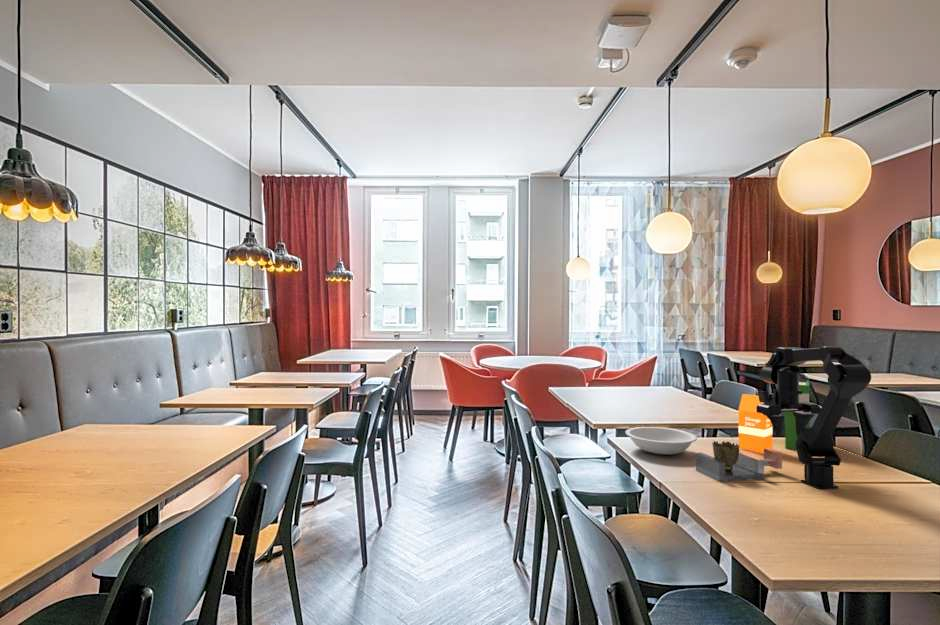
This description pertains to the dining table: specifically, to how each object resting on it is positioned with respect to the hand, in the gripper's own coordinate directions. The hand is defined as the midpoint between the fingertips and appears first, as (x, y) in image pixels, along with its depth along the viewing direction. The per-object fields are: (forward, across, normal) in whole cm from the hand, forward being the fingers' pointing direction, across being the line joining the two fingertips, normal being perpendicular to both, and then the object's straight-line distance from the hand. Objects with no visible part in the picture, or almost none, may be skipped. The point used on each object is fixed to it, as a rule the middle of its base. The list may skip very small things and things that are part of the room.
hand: (788, 435), depth 152 cm
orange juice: (+11, -9, -24) cm, 28 cm away
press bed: (+11, +21, 0) cm, 24 cm away
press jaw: (+9, +10, 0) cm, 14 cm away
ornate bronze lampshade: (+10, +22, 0) cm, 24 cm away
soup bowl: (+11, +28, -27) cm, 40 cm away
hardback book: (+11, -30, -27) cm, 42 cm away
